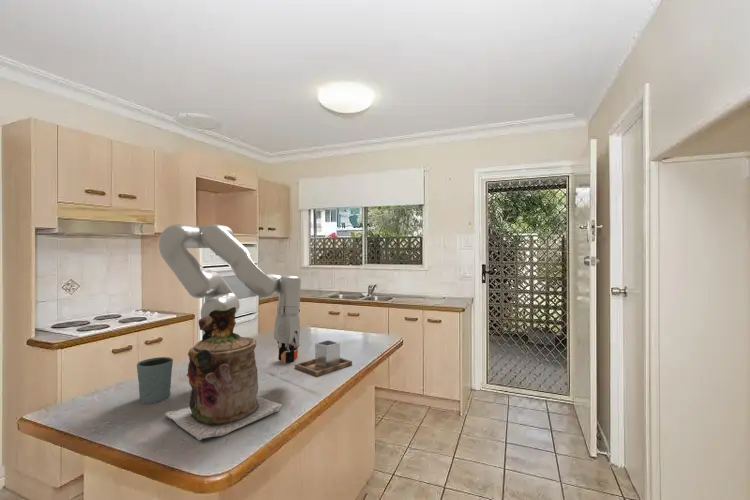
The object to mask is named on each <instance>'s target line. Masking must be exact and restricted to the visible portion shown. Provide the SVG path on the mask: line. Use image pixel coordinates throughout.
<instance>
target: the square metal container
mask: <svg viewBox="0 0 750 500" xmlns="http://www.w3.org/2000/svg"><path fill="white" fill-rule="evenodd" d="M340 344H341V343H340V342H337V341H334V340H330V339H327V340H324V341H323V340H322V341H319V342H315V343H314V347H315V349H314V350H315V353H314V354H315V358H314V359H315V365H316V366H318V367H321V368H324V369H326V368H329V367H332V366H335V365H338V364H340V358H341V357H340V356H341V354H340V353H341V352H340V351H341V345H340Z"/></svg>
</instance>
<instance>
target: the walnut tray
mask: <svg viewBox="0 0 750 500" xmlns="http://www.w3.org/2000/svg"><path fill="white" fill-rule="evenodd" d="M352 365H353V360H350V359H346V358H342V357H340V364H338V365H335V366H332V367H329V368H326V369H324V368H321V367H318V366H316V365H315V358H312V359H308V360H305V361H302V362H299V363H298V362H297V363H295V364H294V369H296V370H299V371H301V372H304V373H307V374H309V375H312V376H314V377H319V376H323V375H326V374H329V373H331V372H334V371H337V370H341V369H344V368H347V367H350V366H352Z"/></svg>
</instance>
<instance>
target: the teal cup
mask: <svg viewBox="0 0 750 500" xmlns="http://www.w3.org/2000/svg"><path fill="white" fill-rule="evenodd" d="M173 363H174V359H173V358H172V357H166V356H164V357H163V356H161V357H151V358H148V359H143V360H141V361H139V362H137V364H136V370H137V381H138V392H139V401H141V402H144V403H143V404H154V402H156V403H160V402H162V400H163V401H165V400H167V399H169V398H170V396H171V387H172V384H171V383H172V375H173V374H172V371H173ZM168 397H169V398H168ZM159 401H160V402H159ZM141 402H140V403H141Z"/></svg>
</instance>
